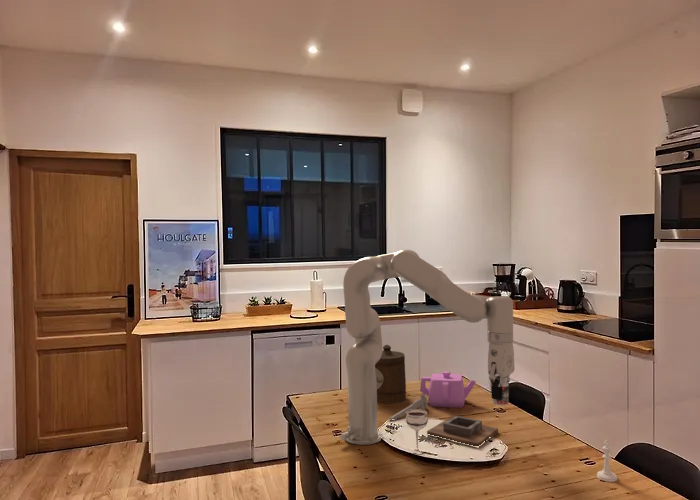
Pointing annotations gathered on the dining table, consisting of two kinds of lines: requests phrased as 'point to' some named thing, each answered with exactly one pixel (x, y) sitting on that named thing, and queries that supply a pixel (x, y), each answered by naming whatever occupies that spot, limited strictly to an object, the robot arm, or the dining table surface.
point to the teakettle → (446, 389)
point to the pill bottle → (503, 393)
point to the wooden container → (390, 376)
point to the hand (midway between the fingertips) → (500, 396)
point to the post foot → (463, 430)
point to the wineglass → (416, 420)
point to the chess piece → (606, 466)
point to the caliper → (412, 407)
